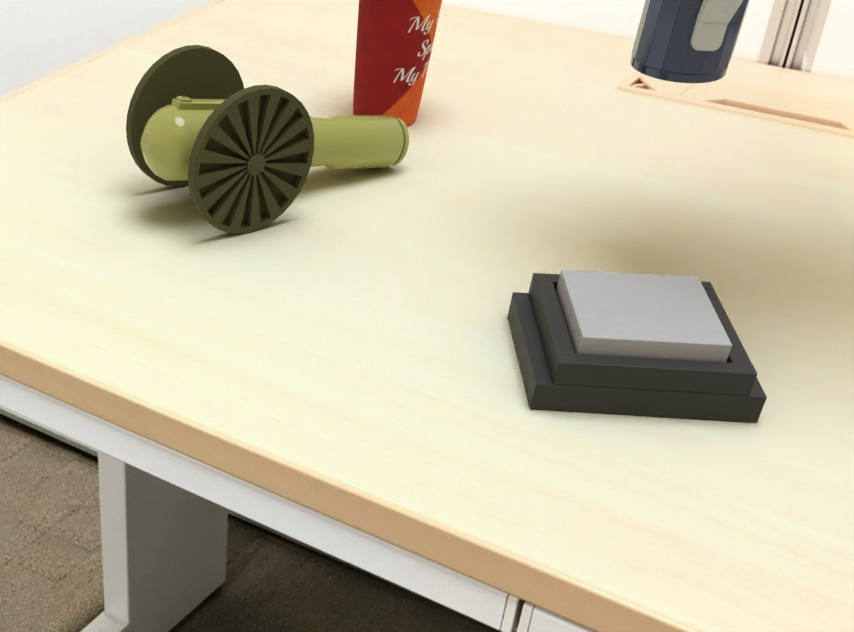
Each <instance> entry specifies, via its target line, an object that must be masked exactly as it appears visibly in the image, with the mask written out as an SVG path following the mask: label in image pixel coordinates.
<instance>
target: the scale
mask: <svg viewBox="0 0 854 632" xmlns="http://www.w3.org/2000/svg"><path fill="white" fill-rule="evenodd" d="M559 277H560V273H546V272H545V273H541V272H533V273H532V276H531V281H530V285H529V288H528V292H519V291H518V292H517V291H516V292H515V291H512V294H511V298H510V302H509V306H508V307H509V308H508V312H507V319H508V324H509V328H510V330H511V335H512V339H513V343H514V348H515V353H516V357H517V360H518V365H519V368H520V374H521V377H522V382H523V385H524V389H525V393H526V397H527V402H528V406H529V410H530V409H531V410H542V411H543V410H545V411H546V410H547V411H560V412H561V411H562V412H575V413H577V412H578V413H592V414H593V413H594V414H610V415H626V416H627V415H628V416H643V417H644V416H645V417H661V418H675V419H678V418H679V419H693V420H694V419H695V420H709V421H726V422H742V423H758V421H759V419H760V416H761V414H762V411H763V408H764V406H765V404H766V401H767V399H768V396H767V395H766V392H765V391H764V389H763V387H762V385H761V383H760V381H759V379H758V372H757V370H756V368H755V366H754V364H753V363H752V361H751V359H750V357H749V355H748V353H747V351H746V349H745V347H744V345H743V344H742V343H743V342H742V341H741V339H740V337H739V335H738V333H737V331H736V329H735V328H734V325H733V323H732V321H731V320H730V318H729V315H728V314H727V312H726V310H725V308H724V306H723V304H722V302H721V300H720V298H719V296H718V294H717V293H716V290H715V289H714V286H713V284H712V283H711V281H703V280H702V281H701V280H700V281H701V283H702V285H703V287H704V289H705V291H706V293H707V295H708V297H709V299H710V301H711V304H712V306H713V308H714V310H715V312H716V314H717V316H718V318H719V320H720V322H721V324H722V326H723V328H724V330H725V332H726V334H727V336H728V338H729V340H730V342H731V344H732V347H731V350H730V353H729V356H728V358H727V361H726V362H708V361H691V360H673V359H655V358H638V357H620V356H602V355H585V354H575V352H574V349H573V346H572V343H571V339H570V336H569V333H568V330H567V326H566V323H565V320H564V317H563V314H562V310H561V307H560V304H559V301H558V297H557V294H556V289H557V285H558V281H559Z"/></svg>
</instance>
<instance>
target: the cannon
mask: <svg viewBox="0 0 854 632" xmlns="http://www.w3.org/2000/svg"><path fill="white" fill-rule="evenodd" d="M125 123H126V124H125V134H126V143H127V147H128V151H129V154H130V155H131V157H132V159H133V162H134V163H135V165H136V166H137V167H138V168H139V169H140V171H141V172H142V173H143V174H144V175H146V176H147V177H148V178H150V179H151V180H153V181H154V182H156V183H158V184H160V185H163V186H166V187H174V188H179V187H187V186H188V190H189V195H190V199H191V201H192V204H193V206H194V209H195V210H196V211H197V213H198V214H199V215H200V216H201V217H202V219H203V220H204V221H206V222H207V223H208V224H210V225H211V226H213V227H214V228H215V229H217V230H219V231H222V232H225V233H227V234H234V235H241V234H248V233H253V232H255V231H259V230H261V229H263V228H264V227H267V226H269V225H270V224H272V223H274V221H276V220H277V219H278V218H279V217H281V216H282V215H283V214H284V213H285V212H286V211H287V209H289V207H291V205H292V204H293V203H294V201H295V200H296V198H297V197H298V195H299V194H300V193H301V191H302V189H303V187H304V185H305V182H306V181H307V179H308V176H309V173H310V170H311V168H315V167H316V168H317V167H326V168H328V169H333V170H334V169H335V170H336V169H338V170H339V169H342V170H343V169H386V168H389V167H393V166H397V165H398V164H400V163H402V161H403V160H404V159H405V157H406V155H407V152H408V150H409V145H410V133H409V129H408V126H406V124H405V123H404V122H403V120H401V119H400V118H397V117H393V116H390V115H353V114H332V115H330V116H326V117H319V116H318V117H317V116H310V114H309V111H308V110H307V108H306V107H305V105H304V104H303V102H302V101H300V100H299V98H298V97H296V96H295V94H292V93H290V91H287V90H285V89H283V88H281V87H279V86H275V85H270V84H256V85H251V86H248V87H245V85H244V81H243V79H242V76H241V74H240V72H239V70H238V68H237V67H236V66H235V64H234V63H233V61H232V60H230V59H229V58H228V57H227V56H226V55H224V54H223V53H222V52H221V51H217V50H216V49H214V48H211V47H210V46H207V45H206V46H205V45H200V44H194V45H193V44H191V45H190V44H189V45H184V46H180V47H177V48H174V49H172V50H171V51H169V52H167V53H165V54H163V55H162V56H161V57H160V58H158V59H157V60H156V61H155V62H154V63H152V65H151V66H150V67H149V68H148V69H147V70H146V71H145V72H144V74H143V76H142V77H141V79H140V80H139V82H138V83H137V85H136V86H135V89H134V91H133V94H132V96H131V98H130V101H129V105H128V108H127V113H126V122H125Z"/></svg>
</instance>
